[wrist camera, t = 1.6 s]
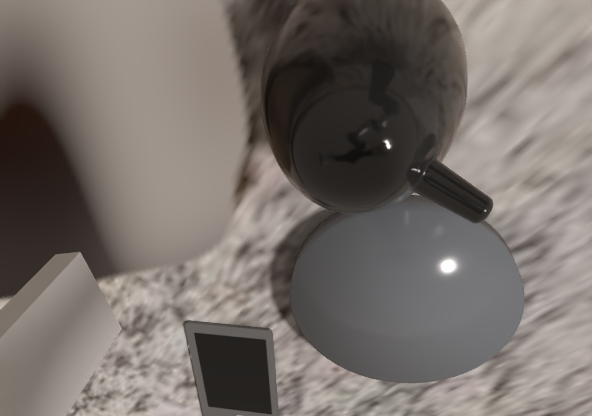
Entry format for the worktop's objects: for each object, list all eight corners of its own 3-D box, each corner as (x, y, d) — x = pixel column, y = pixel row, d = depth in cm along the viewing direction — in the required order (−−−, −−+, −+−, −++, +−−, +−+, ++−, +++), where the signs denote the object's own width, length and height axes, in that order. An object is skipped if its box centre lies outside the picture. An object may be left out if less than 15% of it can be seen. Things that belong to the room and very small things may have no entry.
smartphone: (185, 316, 43) (182, 321, 42) (273, 324, 41) (271, 330, 41) (205, 418, 50) (203, 424, 50) (280, 427, 49) (279, 434, 48)
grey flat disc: (518, 180, 30) (526, 195, 29) (516, 361, 38) (522, 381, 37) (271, 209, 34) (265, 223, 33) (316, 366, 43) (314, 384, 41)
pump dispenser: (404, 162, 31) (420, 330, 18) (259, 99, 30) (170, 228, 17) (494, 10, 26) (607, 97, 13) (320, -70, 25) (254, -64, 12)
